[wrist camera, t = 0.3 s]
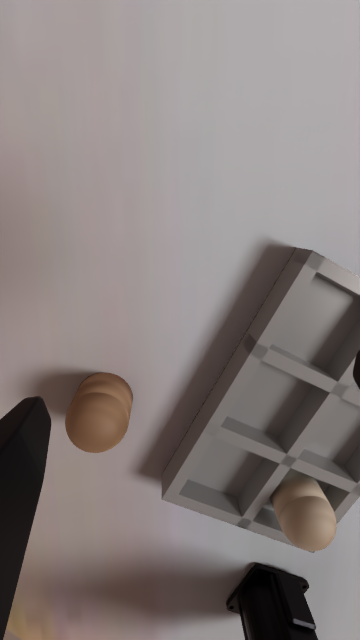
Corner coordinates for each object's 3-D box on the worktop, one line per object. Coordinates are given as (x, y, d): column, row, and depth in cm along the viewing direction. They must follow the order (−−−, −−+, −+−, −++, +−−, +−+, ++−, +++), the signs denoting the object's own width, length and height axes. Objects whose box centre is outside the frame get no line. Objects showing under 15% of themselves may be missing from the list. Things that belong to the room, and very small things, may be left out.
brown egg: (119, 428, 26) (109, 475, 21) (69, 408, 25) (46, 453, 21) (141, 385, 25) (136, 425, 20) (90, 363, 24) (71, 400, 19)
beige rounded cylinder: (298, 512, 29) (326, 571, 24) (258, 497, 28) (278, 555, 23) (325, 477, 28) (359, 532, 23) (284, 460, 27) (311, 513, 22)
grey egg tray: (301, 526, 30) (313, 552, 28) (161, 474, 28) (161, 499, 25) (450, 333, 25) (482, 345, 23) (296, 247, 23) (313, 250, 20)
